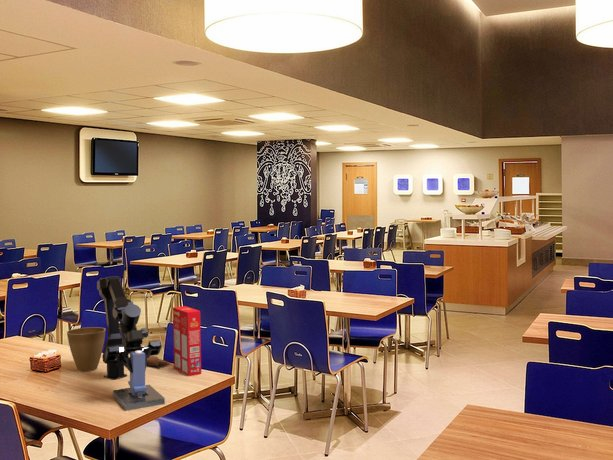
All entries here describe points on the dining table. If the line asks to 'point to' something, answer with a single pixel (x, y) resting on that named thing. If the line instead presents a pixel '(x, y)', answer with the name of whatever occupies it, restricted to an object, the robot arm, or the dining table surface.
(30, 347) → the dining table surface
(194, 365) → the food packaging
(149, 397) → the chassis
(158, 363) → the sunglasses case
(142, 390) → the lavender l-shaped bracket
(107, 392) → the dining table surface
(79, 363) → the plant pot
